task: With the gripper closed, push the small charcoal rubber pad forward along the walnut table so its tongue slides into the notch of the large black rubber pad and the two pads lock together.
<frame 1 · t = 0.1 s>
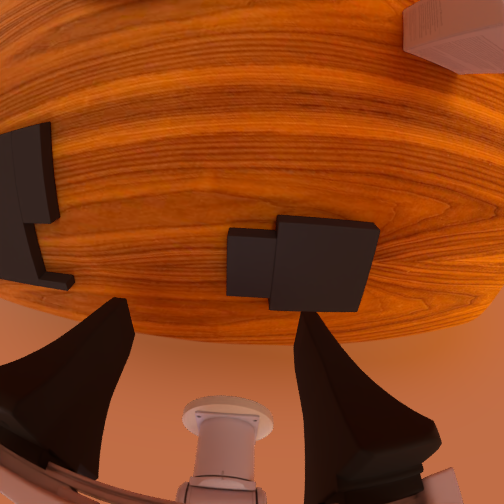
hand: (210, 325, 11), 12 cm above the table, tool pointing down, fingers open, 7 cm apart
small pad: (319, 262, 24), on the table
cosmetic box: (430, 41, 15), on the table
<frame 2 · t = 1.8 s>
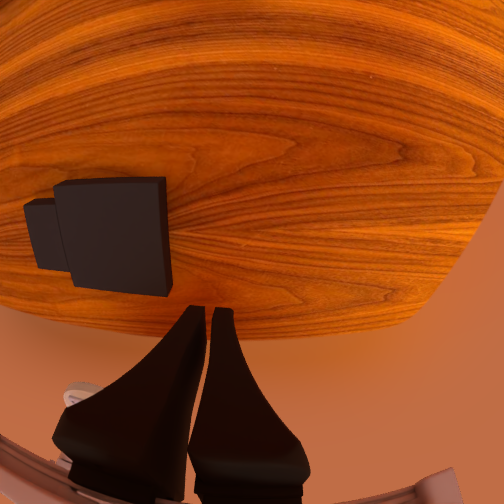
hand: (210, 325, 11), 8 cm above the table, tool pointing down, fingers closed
small pad: (116, 232, 19), on the table
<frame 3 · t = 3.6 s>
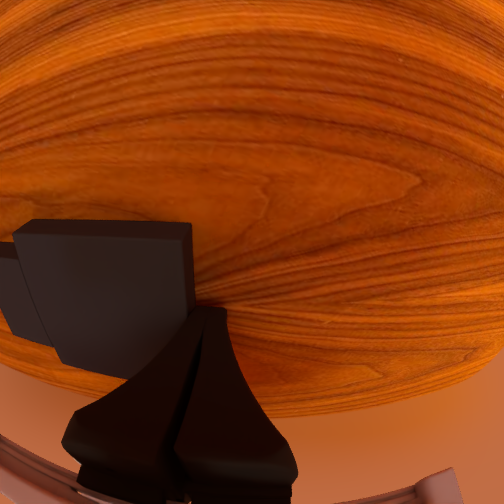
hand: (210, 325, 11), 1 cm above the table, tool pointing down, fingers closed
small pad: (113, 299, 12), on the table, touching gripper
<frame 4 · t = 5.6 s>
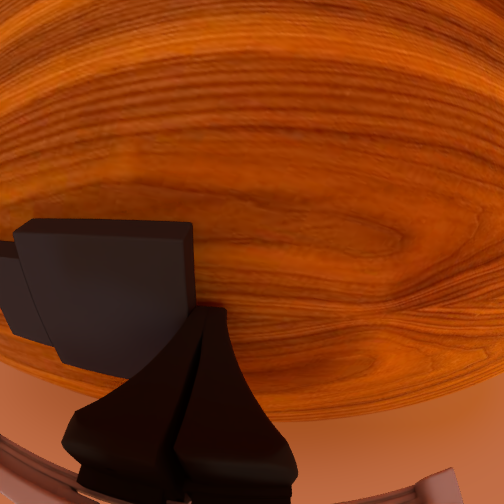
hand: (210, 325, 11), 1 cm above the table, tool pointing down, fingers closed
small pad: (114, 299, 12), on the table, touching gripper
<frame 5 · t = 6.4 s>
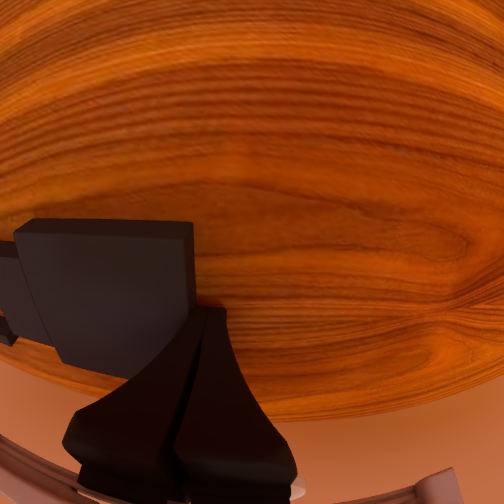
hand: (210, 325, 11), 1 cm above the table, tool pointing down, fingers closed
small pad: (114, 299, 12), on the table, touching gripper
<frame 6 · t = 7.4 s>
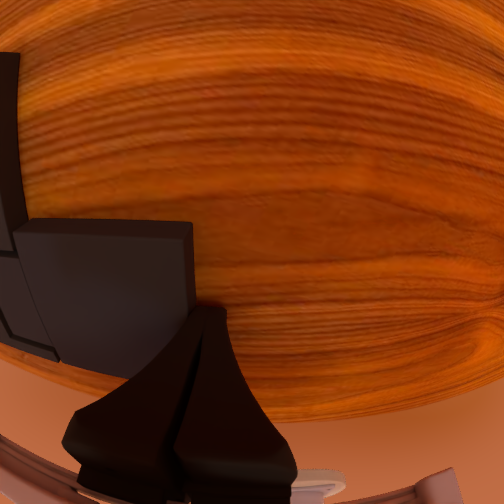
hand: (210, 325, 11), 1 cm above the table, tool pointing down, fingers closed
small pad: (114, 299, 12), on the table, touching gripper
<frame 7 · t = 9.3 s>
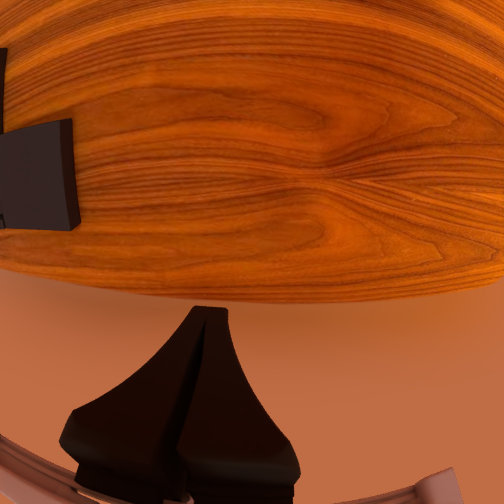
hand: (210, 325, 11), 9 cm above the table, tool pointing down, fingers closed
small pad: (38, 174, 17), on the table
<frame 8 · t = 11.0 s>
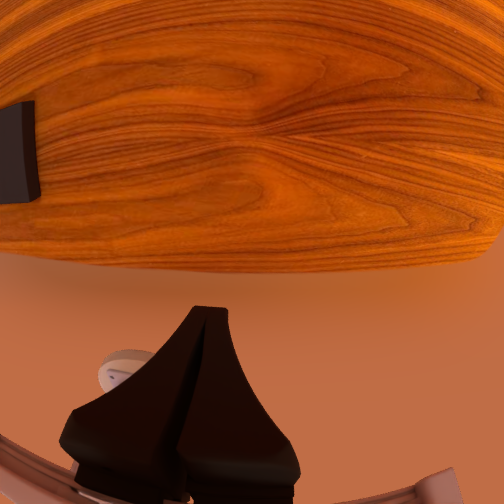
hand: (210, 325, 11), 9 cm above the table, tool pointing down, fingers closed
small pad: (7, 154, 16), on the table
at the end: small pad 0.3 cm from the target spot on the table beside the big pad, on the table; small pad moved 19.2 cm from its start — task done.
